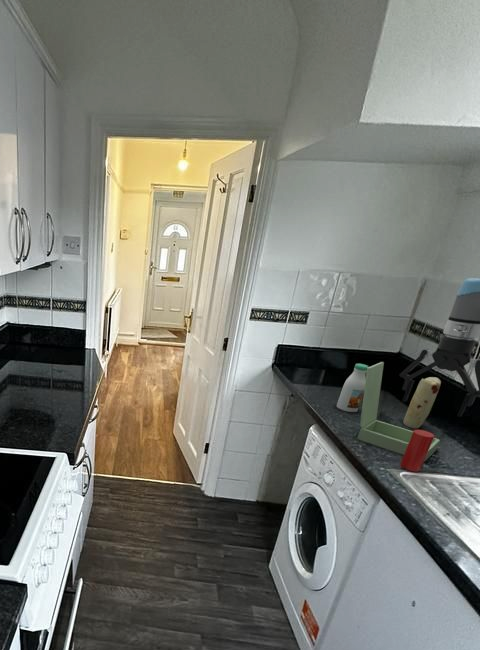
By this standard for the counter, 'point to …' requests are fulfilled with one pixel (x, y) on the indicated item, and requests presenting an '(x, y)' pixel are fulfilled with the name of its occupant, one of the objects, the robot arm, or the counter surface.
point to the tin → (417, 450)
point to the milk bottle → (353, 389)
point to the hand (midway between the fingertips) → (430, 408)
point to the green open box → (390, 437)
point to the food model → (422, 402)
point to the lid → (371, 393)
